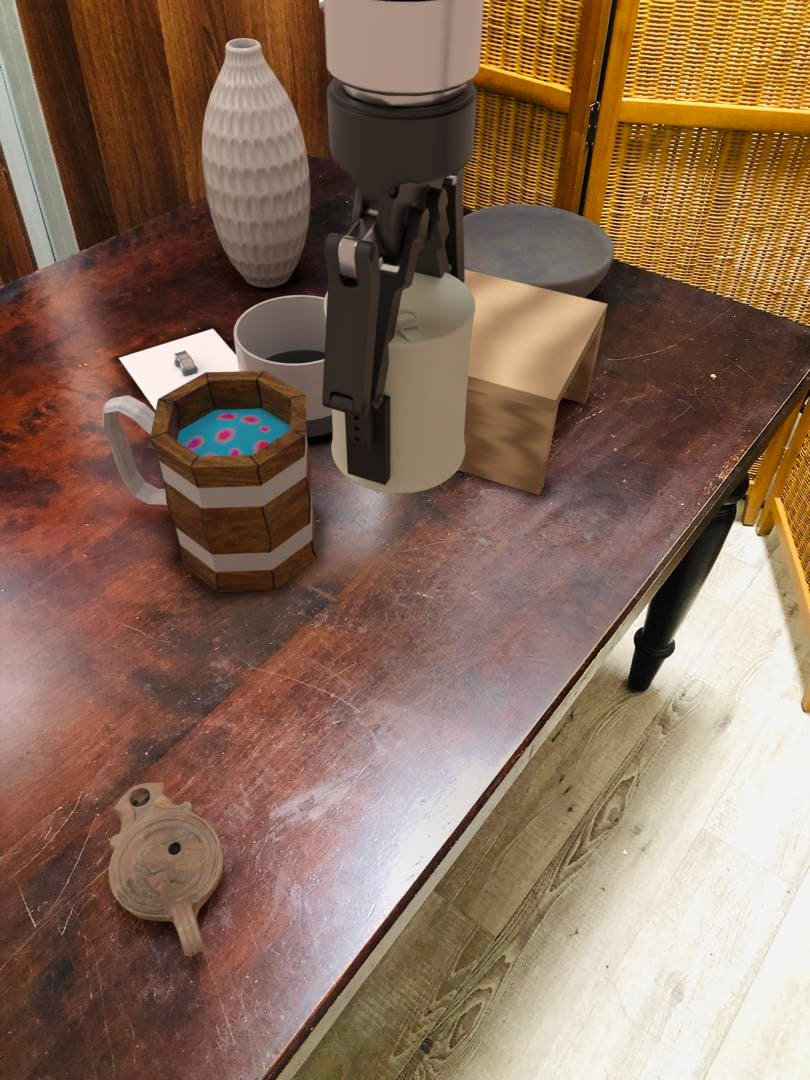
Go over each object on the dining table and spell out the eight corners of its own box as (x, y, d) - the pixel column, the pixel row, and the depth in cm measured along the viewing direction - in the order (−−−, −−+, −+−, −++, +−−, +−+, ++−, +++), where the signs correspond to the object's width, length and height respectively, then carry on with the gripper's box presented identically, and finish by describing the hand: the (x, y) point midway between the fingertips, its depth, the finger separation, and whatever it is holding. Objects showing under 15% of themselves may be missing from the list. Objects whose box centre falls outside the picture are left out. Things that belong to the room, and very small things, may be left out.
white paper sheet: (157, 412, 97) (154, 401, 96) (118, 358, 103) (115, 347, 102) (256, 378, 101) (254, 368, 100) (213, 328, 108) (211, 318, 107)
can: (343, 503, 57) (335, 346, 48) (322, 416, 63) (311, 263, 55) (480, 484, 58) (496, 327, 50) (446, 400, 65) (455, 249, 56)
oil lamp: (99, 820, 64) (82, 787, 60) (199, 781, 66) (188, 747, 63) (142, 997, 56) (125, 971, 52) (254, 946, 58) (246, 917, 55)
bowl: (474, 354, 105) (480, 295, 100) (416, 268, 119) (418, 212, 113) (631, 325, 110) (645, 267, 105) (558, 246, 124) (567, 191, 118)
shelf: (588, 396, 100) (607, 303, 91) (539, 495, 89) (556, 400, 80) (457, 361, 104) (464, 269, 96) (394, 451, 93) (396, 355, 84)
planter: (382, 424, 96) (382, 342, 88) (275, 462, 91) (265, 379, 84) (328, 363, 103) (324, 283, 96) (226, 396, 99) (214, 314, 91)
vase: (246, 245, 122) (218, 19, 102) (330, 262, 120) (319, 33, 99) (201, 290, 114) (161, 53, 94) (291, 309, 111) (270, 70, 91)
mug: (343, 510, 87) (337, 386, 76) (287, 611, 78) (271, 487, 67) (165, 465, 91) (135, 341, 80) (93, 556, 82) (48, 431, 71)
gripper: (417, 8, 51) (411, 338, 68) (220, 145, 38) (271, 518, 54) (540, 26, 49) (503, 362, 66) (379, 178, 36) (382, 555, 52)
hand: (398, 432), depth 60 cm, fingers closed on can, 9 cm apart
